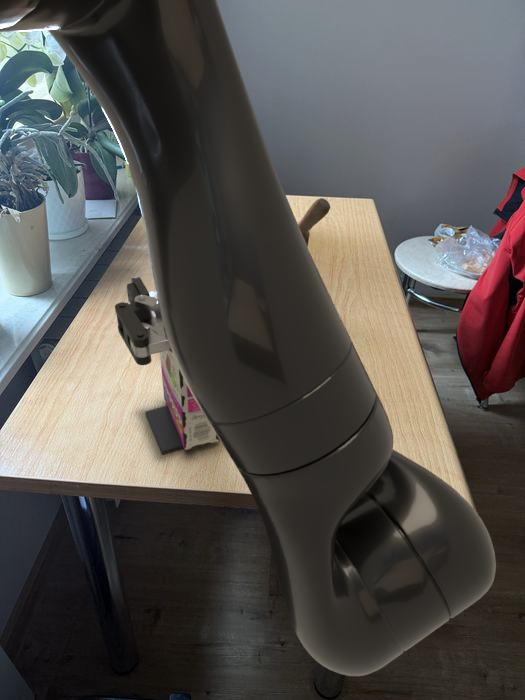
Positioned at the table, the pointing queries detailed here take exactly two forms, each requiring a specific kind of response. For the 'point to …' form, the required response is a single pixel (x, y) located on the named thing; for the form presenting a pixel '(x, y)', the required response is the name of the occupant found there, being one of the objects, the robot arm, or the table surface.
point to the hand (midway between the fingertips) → (180, 277)
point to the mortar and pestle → (313, 217)
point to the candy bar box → (184, 406)
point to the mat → (164, 429)
